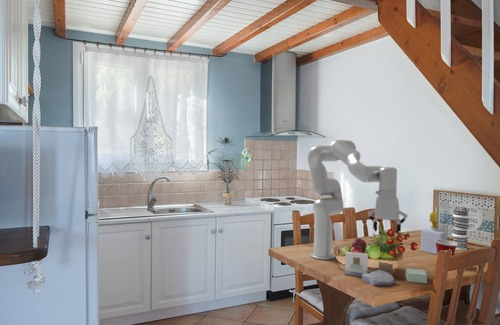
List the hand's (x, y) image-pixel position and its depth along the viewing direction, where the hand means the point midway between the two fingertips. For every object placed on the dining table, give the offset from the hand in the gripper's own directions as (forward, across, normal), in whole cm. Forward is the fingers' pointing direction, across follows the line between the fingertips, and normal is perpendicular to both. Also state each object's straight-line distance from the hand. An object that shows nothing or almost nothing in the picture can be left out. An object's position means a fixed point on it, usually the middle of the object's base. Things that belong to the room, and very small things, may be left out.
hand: (386, 231), depth 179 cm
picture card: (+21, -13, -2) cm, 25 cm away
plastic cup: (+21, +25, +38) cm, 50 cm away
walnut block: (+21, -1, +3) cm, 21 cm away
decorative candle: (+21, +32, +81) cm, 90 cm away
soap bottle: (+21, +19, +62) cm, 68 cm away
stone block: (+22, -2, -8) cm, 23 cm away
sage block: (+22, +12, +4) cm, 25 cm away
